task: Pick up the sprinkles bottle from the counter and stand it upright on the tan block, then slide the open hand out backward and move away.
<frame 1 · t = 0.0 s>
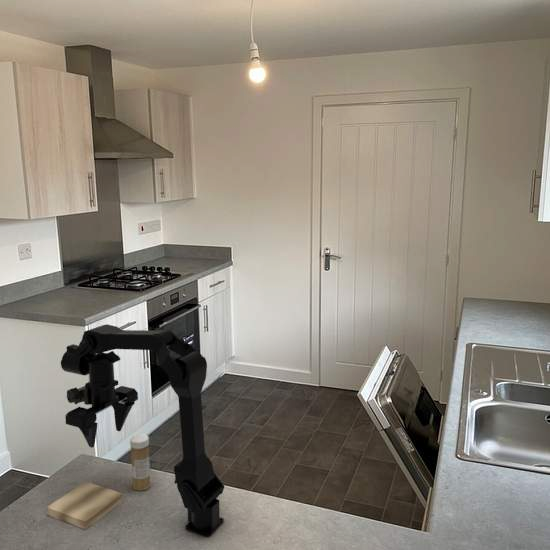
hand: (105, 438, 132), 15 cm above the counter, tool pointing down, fingers open, 9 cm apart
sprinkles bottle: (141, 487, 138), on the counter
tan block: (85, 507, 129), on the counter
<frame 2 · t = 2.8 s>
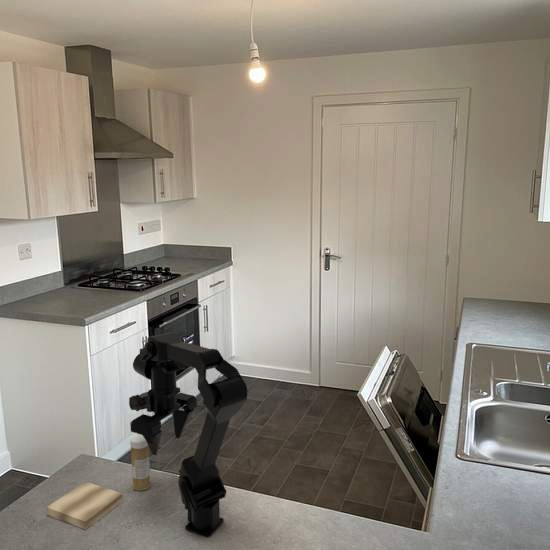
hand: (166, 445, 132), 13 cm above the counter, tool pointing down, fingers open, 9 cm apart
nothing on the counter moved.
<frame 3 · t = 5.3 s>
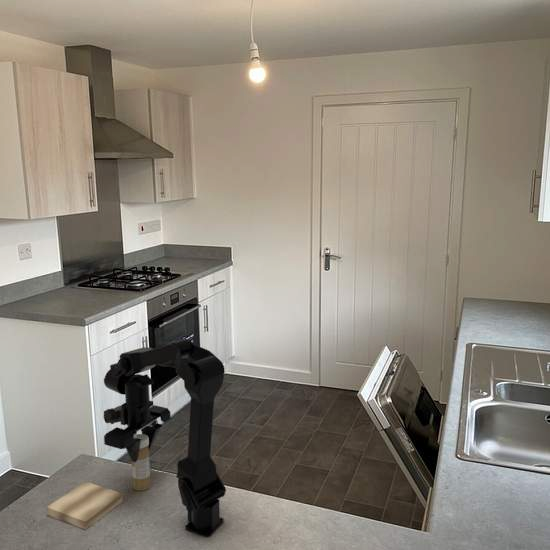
hand: (140, 457, 136), 8 cm above the counter, tool pointing down, fingers closed on sprinkles bottle, 4 cm apart
sprinkles bottle: (141, 487, 138), on the counter, touching gripper
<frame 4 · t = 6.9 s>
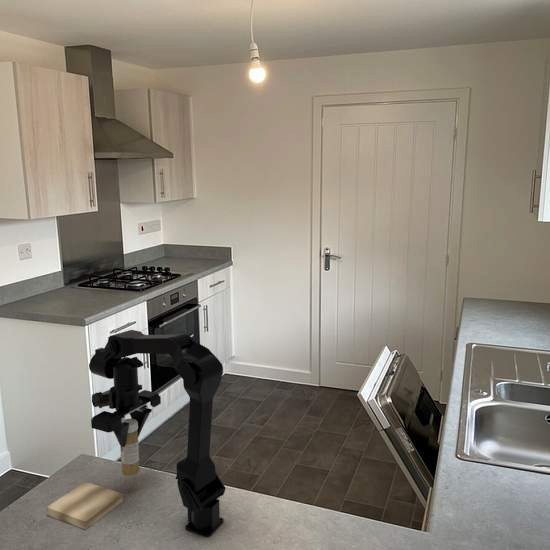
hand: (129, 442, 134), 13 cm above the counter, tool pointing down, fingers closed on sprinkles bottle, 4 cm apart
sprinkles bottle: (130, 473, 135), point 5 cm above the counter, touching gripper
when the fingers open (11 cm above the counter, at t = 8.6 s): sprinkles bottle stays where it is, resting on tan block.
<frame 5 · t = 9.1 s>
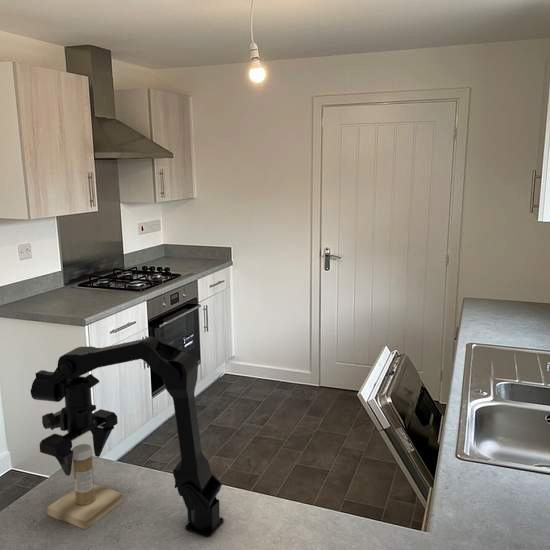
hand: (83, 465, 127), 11 cm above the counter, tool pointing down, fingers open, 9 cm apart
sprinkles bottle: (85, 501, 129), point 2 cm above the counter, touching tan block
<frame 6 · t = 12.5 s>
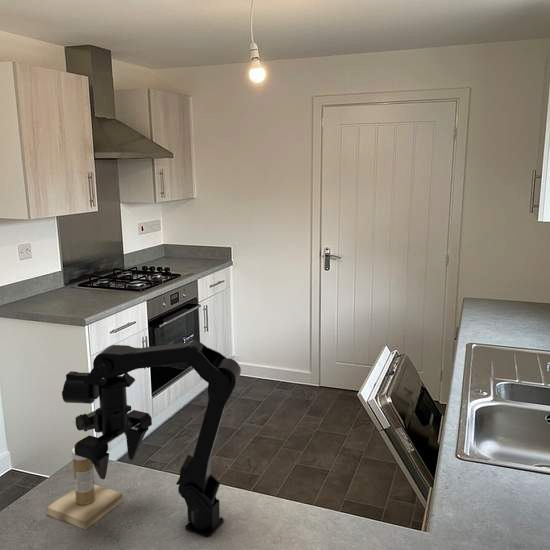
hand: (117, 468, 122), 13 cm above the counter, tool pointing down, fingers open, 9 cm apart
nothing on the counter moved.
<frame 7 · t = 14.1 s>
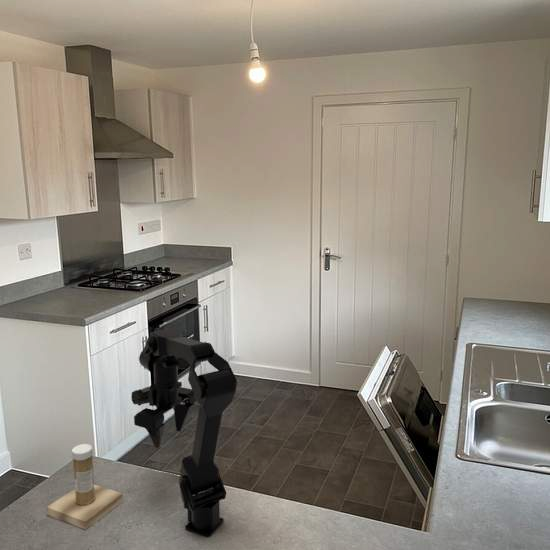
hand: (168, 438, 135), 13 cm above the counter, tool pointing down, fingers open, 9 cm apart
nothing on the counter moved.
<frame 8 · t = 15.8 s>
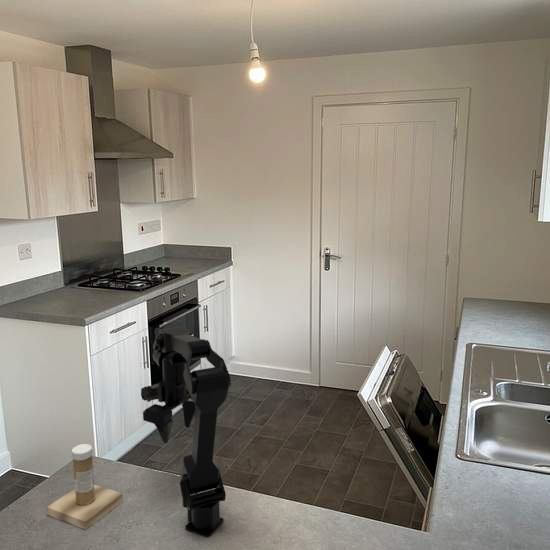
hand: (176, 434, 138), 13 cm above the counter, tool pointing down, fingers open, 9 cm apart
nothing on the counter moved.
at the end: sprinkles bottle inside the target area on the tan block (0.1 cm from its centre), point 1.8 cm above the tan block's base; sprinkles bottle tilted 0°; the gripper is holding nothing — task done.
